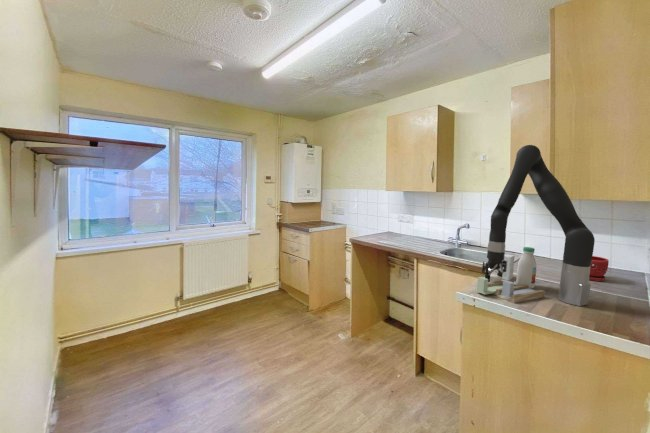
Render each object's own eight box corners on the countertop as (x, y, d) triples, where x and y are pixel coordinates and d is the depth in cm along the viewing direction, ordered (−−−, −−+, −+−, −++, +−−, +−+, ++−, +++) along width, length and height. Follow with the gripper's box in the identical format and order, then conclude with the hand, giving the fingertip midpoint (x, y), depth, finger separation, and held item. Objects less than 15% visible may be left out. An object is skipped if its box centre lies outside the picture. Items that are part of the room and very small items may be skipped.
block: (500, 286, 143) (501, 277, 142) (493, 287, 141) (494, 278, 141) (492, 283, 148) (493, 274, 147) (485, 284, 146) (485, 274, 145)
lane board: (544, 297, 130) (545, 291, 130) (513, 303, 123) (514, 296, 123) (511, 285, 145) (511, 279, 144) (482, 289, 138) (482, 283, 138)
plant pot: (595, 275, 163) (598, 255, 161) (612, 283, 150) (615, 261, 148) (569, 273, 166) (571, 253, 164) (583, 281, 153) (585, 259, 152)
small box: (512, 278, 156) (515, 255, 154) (508, 280, 152) (510, 257, 150) (496, 274, 162) (498, 252, 160) (492, 276, 158) (494, 254, 156)
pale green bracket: (513, 289, 136) (515, 276, 135) (484, 294, 129) (485, 280, 128) (504, 286, 140) (505, 272, 140) (475, 290, 134) (476, 276, 133)
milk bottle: (526, 289, 139) (530, 250, 137) (512, 284, 147) (516, 246, 144) (538, 288, 141) (542, 249, 139) (523, 282, 149) (527, 245, 146)
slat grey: (539, 293, 131) (541, 279, 131) (510, 298, 125) (512, 284, 124) (528, 289, 136) (530, 276, 135) (500, 294, 129) (501, 280, 129)
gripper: (492, 252, 136) (489, 285, 138) (513, 250, 141) (510, 282, 143) (479, 249, 143) (476, 280, 145) (499, 247, 148) (496, 277, 150)
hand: (493, 281), depth 144 cm, fingers open, 8 cm apart
